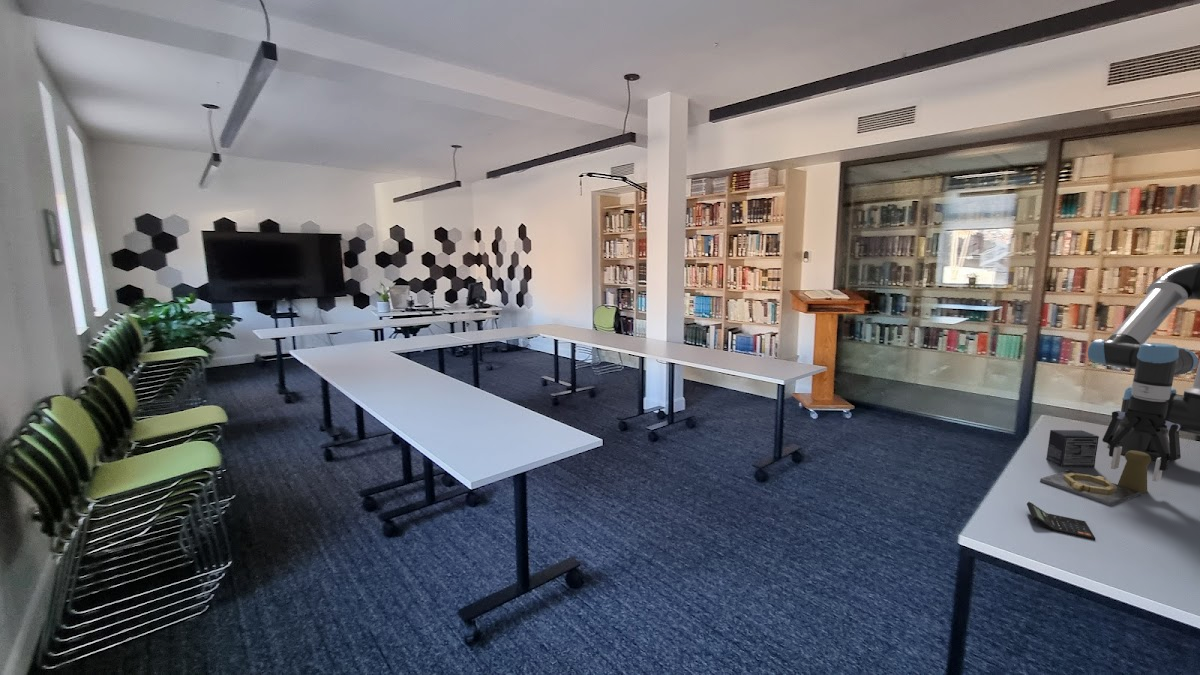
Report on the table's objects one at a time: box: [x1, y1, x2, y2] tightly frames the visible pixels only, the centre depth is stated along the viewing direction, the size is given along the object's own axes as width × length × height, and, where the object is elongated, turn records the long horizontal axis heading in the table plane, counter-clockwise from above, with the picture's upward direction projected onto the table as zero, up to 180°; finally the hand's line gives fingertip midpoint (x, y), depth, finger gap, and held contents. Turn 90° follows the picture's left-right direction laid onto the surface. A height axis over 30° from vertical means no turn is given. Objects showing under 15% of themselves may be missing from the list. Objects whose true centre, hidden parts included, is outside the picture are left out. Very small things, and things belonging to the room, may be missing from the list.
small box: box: [1045, 429, 1100, 468], centre depth 165 cm, size 11×6×10 cm, turn 88°
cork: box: [1117, 450, 1152, 494], centre depth 148 cm, size 6×6×11 cm
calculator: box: [1026, 501, 1096, 541], centre depth 128 cm, size 9×12×3 cm
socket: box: [1040, 469, 1141, 507], centre depth 148 cm, size 16×16×2 cm
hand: (1134, 473), depth 148 cm, fingers open, 8 cm apart
